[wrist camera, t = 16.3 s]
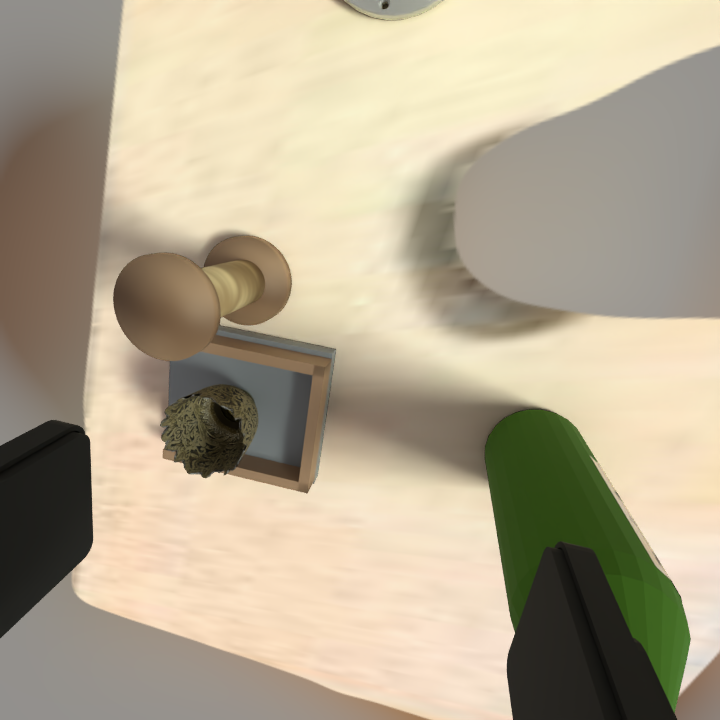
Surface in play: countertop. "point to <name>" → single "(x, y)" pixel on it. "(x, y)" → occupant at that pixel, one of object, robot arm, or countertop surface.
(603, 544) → the wine bottle
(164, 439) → the cup
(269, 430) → the wooden tray
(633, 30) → the countertop surface
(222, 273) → the bobbin post
